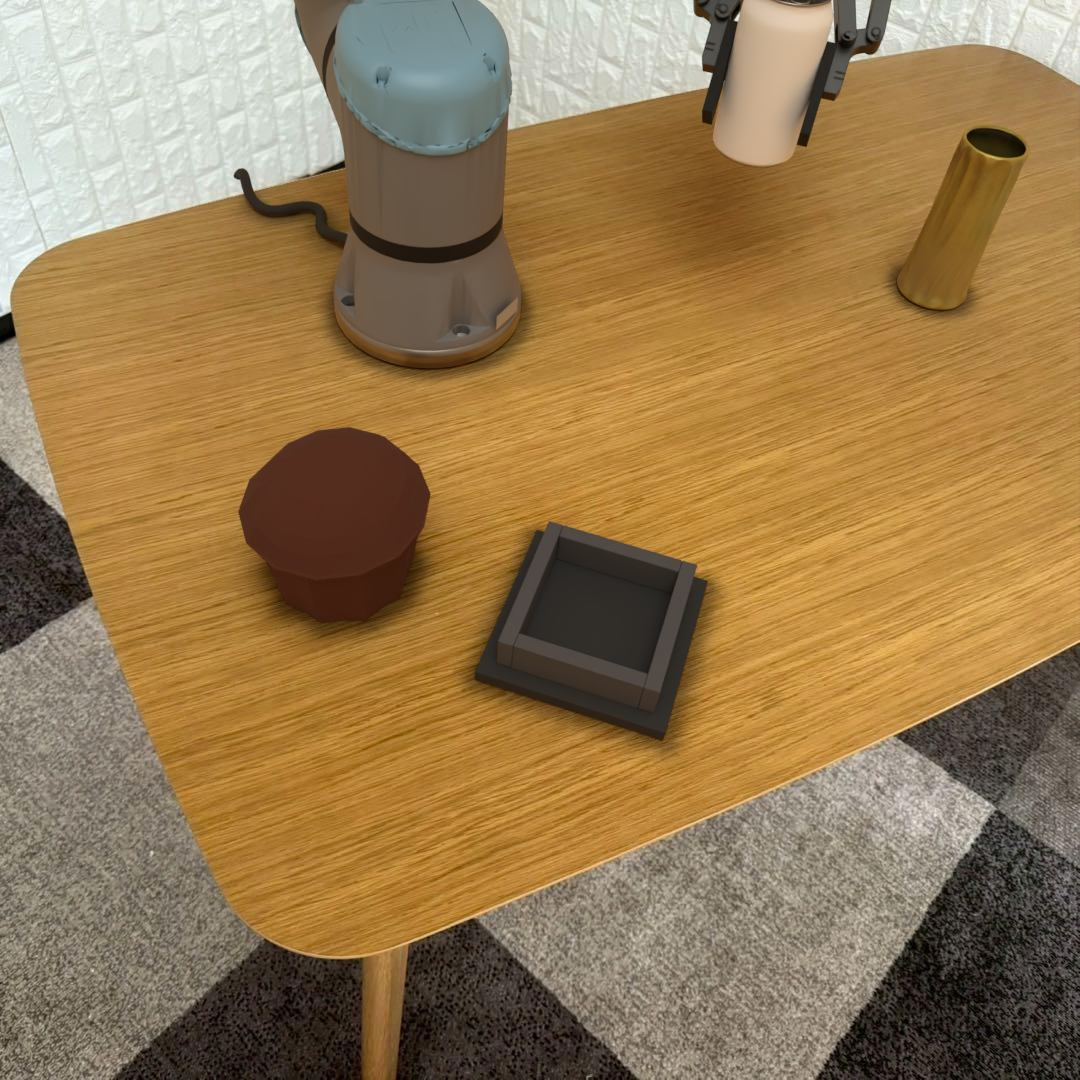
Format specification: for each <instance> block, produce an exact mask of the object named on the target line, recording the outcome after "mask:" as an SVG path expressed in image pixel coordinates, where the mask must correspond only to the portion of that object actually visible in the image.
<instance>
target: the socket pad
mask: <svg viewBox="0 0 1080 1080" xmlns="http://www.w3.org/2000/svg"><path fill="white" fill-rule="evenodd" d="M697 569H698V565H697V564H696V563H692V562H689V561H686V560H682V559H679V558H676V557H672V556H669V555H666V554H662V553H658V552H656V551H652V550H649V549H645V548H641V547H638V546H635V545H632V544H628V543H625V542H622V541H619V540H615V539H611V538H608V537H605V536H601V535H598V534H594V533H592V532H588V531H584V530H581V529H578V528H574V527H572V526H567V525H563V524H561V523H557V522H555V521H551V520H549V521H548V522H547V524H546V527H545V530H544V531H543V530H539V529H536V531H535V532H534V535H533V537H532V539H531V542H530V544H529V546H528V548H527V551H526V553H525V556H524V558H523V560H522V562H521V565H520V567H519V569H518V572H517V574H516V576H515V579H514V581H513V583H512V585H511V588H510V589H509V592H508V595H507V597H506V599H505V602H504V604H503V606H502V609H501V611H500V613H499V615H498V617H497V620H496V623H495V625H494V627H493V630H492V631H491V634H490V636H489V639H488V641H487V643H486V646H485V647H484V650H483V653H482V654H481V657H480V659H479V662H478V664H477V667H476V669H475V671H474V681H478V682H480V683H483V684H485V685H490V686H492V687H496V688H499V689H502V690H504V691H508V692H511V693H515V694H517V695H520V696H524V697H526V698H529V699H533V700H536V701H539V702H543V703H546V704H548V705H551V706H555V707H557V708H561V709H564V710H567V711H570V712H573V713H576V714H580V715H583V716H585V717H589V718H592V719H594V720H598V721H600V722H604V723H607V724H610V725H613V726H616V727H619V728H622V729H626V730H628V731H632V732H635V733H638V734H641V735H644V736H647V737H651V738H653V739H656V740H659V741H664V740H665V736H666V734H667V730H668V726H669V723H670V719H671V716H672V713H673V708H674V705H675V702H676V698H677V695H678V691H679V687H680V684H681V679H682V676H683V673H684V670H685V665H686V662H687V658H688V656H689V652H690V647H691V644H692V641H693V637H694V635H695V630H696V627H697V626H696V625H697V623H698V618H699V616H700V612H701V608H702V605H703V601H704V597H705V594H706V590H707V587H708V583H709V582H708V580H707V579H704V578H700V577H696V576H695V575H696V571H697Z"/></svg>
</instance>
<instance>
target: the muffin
mask: <svg viewBox="0 0 1080 1080" xmlns="http://www.w3.org/2000/svg"><path fill="white" fill-rule="evenodd" d="M431 495H432V494H431V492H430V488H429V487H428V484H427V482H426V479H425V477H424V475H423V472H422V469H421V466H420V465H419V464H418V463H417V462H416V461H414V460H413V459H412V457H410V456H409V455H408V454H407V453H406V452H405V451H403V450H402V449H401V448H399V447H398V446H397V445H396V444H394V442H392V441H391V440H390V439H388V438H387V437H385V435H382V434H378V433H375V432H371V431H367V430H363V429H358V428H355V427H351V426H348V427H337V428H328V429H327V428H326V429H316V430H314V431H313V432H311V433H308V434H305V435H303V436H301V437H299V438H297V439H294V440H292V441H290V442H288V443H286V444H285V445H284V446H283V447H282V448H281V449H280V450H278V452H277V453H275V454H274V455H273V456H272V457H271V458H270V459H269V460H268V461H266V463H265V464H264V465H262V467H260V469H259V470H258V471H257V472H256V473H254V474H253V475H252V476H251V478H249V479H248V482H247V486H246V488H245V491H244V494H243V497H242V499H241V501H240V502H241V503H240V505H239V508H238V511H237V513H238V516H239V521H240V524H241V528H242V532H243V536H244V539H245V543H246V545H247V546H248V547H249V548H251V549H252V550H253V551H254V552H255V553H256V554H257V555H258V556H259V557H260V558H262V560H264V562H265V563H266V565H267V567H268V570H269V571H270V573H271V576H272V578H273V579H274V581H275V584H276V586H277V588H278V590H279V592H280V594H281V596H282V598H283V600H284V602H285V604H286V605H288V606H290V607H291V608H293V609H297V610H299V611H302V612H304V613H306V614H307V615H309V616H310V617H312V618H313V619H314V620H316V621H318V622H319V623H320V624H327V623H333V622H342V621H357V622H358V621H360V622H364V621H365V622H366V621H367V620H369V619H370V618H371V617H372V616H374V615H375V614H376V613H378V612H379V611H380V610H381V609H383V608H385V607H387V606H388V605H390V604H392V603H394V602H396V601H397V600H399V599H401V597H402V594H403V593H402V592H403V589H404V584H405V581H406V579H407V576H408V574H409V573H410V570H411V568H412V566H413V562H414V557H415V553H416V547H417V542H418V538H419V535H420V534H421V533H422V532H423V529H424V527H425V525H426V519H427V515H428V509H429V504H430V501H431Z"/></svg>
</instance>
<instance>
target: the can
mask: <svg viewBox="0 0 1080 1080" xmlns="http://www.w3.org/2000/svg"><path fill="white" fill-rule="evenodd" d="M737 21H738V24H737V28H736V33H735V37H734V41H733V46H732V50H731V55H730V59H729V64H728V68H727V72H726V77H725V81H724V84H723V88H722V91H721V95H720V98H719V103H718V109H717V113H716V118H715V122H714V123H715V124H714V128H713V132H712V141H713V145H714V146H715V148H716V149H717V151H718V152H719V153H720V154H721V155H722V156H723V157H724V158H726V159H727V160H729V161H730V162H733V163H734V164H737V165H741V166H744V167H748V168H755V169H770V168H773V167H778V166H780V165H782V164H784V163H785V162H787V161H789V160H790V159H791V158H792V157H793V155H794V153H795V150H796V147H797V146H798V145H797V141H798V138H799V134H800V131H801V128H802V124H803V121H804V117H805V114H806V111H807V107H808V104H809V101H810V97H811V94H812V91H813V87H814V84H815V80H816V77H817V74H818V70H819V67H820V64H821V60H822V57H823V53H824V50H825V47H826V43H827V41H829V37H830V33H831V29H832V26H833V23H834V11H833V1H832V0H744V1H743V4H742V7H741V11H740V12H739V14H738V20H737Z"/></svg>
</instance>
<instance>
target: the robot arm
mask: <svg viewBox="0 0 1080 1080" xmlns="http://www.w3.org/2000/svg"><path fill="white" fill-rule="evenodd" d="M743 1H744V0H692V3H693V4H692V5H693V6H692V7H693V13H694V15H695V16H696V17H697V18H702V19H704V20H706V21H707V22H708V23H709V25H710V26H709V30H708V33H707V37H706V41H705V44H704V48H703V51H702V55H701V67H702V69H701V70H702V72H704V73H709V74H711V78H710V82H709V84H708V89H707V91H706V95H705V98H704V102H703V105H702V109H701V123H702V124H705V125H710V126H712V125H713V123H714V119H715V115H716V112H717V110H718V109H717V108H718V106H719V103H720V99H721V95H722V90H723V86H724V81H725V77H726V72H727V68H728V64H729V59H730V55H731V50H732V46H733V41H734V37H735V33H736V28H737V24H738V20H736V18H738V16H739V15H740V11H741V7H742V4H743ZM293 4H294V10H293V11H294V17H295V22H296V25H297V28H298V32H299V34H300V37H301V39H302V42H303V44H304V47H305V48H306V50H307V52H308V54H310V57H311V59H312V61H313V64H314V67H315V69H316V72H317V74H318V76H319V79H320V81H321V85H322V87H323V89H324V93H325V95H326V98H327V99H328V103H329V105H330V108H331V110H332V113H333V115H334V118H335V121H336V124H337V127H338V129H339V134H340V138H341V143H342V148H343V154H344V155H343V156H344V157H343V158H344V169H345V179H346V191H347V203H348V213H349V214H348V215H349V230H348V232H347V233H346V232H342V231H339V230H335V229H332V228H330V227H329V226H327V211H326V210H325V208H324V207H323V206H322V205H321V203H318V202H315V201H310V200H301V201H300V200H299V201H294V202H293V201H292V202H288V203H284V204H275V205H274V204H268V203H265V202H263V201H262V200H261V199H259V197H257V194H256V193H255V190H254V188H253V183H252V180H251V175H250V174H249V171H248V170H247V169H246V168H244V167H242V168H240V167H239V168H238V169H237V170H235V171H234V174H233V178H234V179H235V180H237V181H239V182H240V187H241V190H242V193H243V195H244V197H245V199H246V200H247V202H248V204H249V205H250V206H251V208H253V209H254V210H255V211H256V212H258V213H260V214H262V215H266V216H272V217H278V216H287V215H290V214H297V213H302V212H308V213H314V215H315V222H314V226H315V229H316V231H317V233H318V234H319V235H321V237H323V238H325V239H327V240H330V241H333V242H337V243H339V244H343V245H344V246H343V251H342V252H341V253H342V254H341V257H340V260H339V264H338V268H337V271H336V274H335V277H334V282H333V287H332V297H333V305H334V314H335V319H336V322H337V325H338V326H339V328H340V330H341V332H342V333H343V334H344V336H345V337H346V338H347V339H348V341H350V342H351V343H352V344H353V345H354V346H355V347H357V348H358V349H360V350H361V351H362V352H365V353H366V354H368V355H370V356H372V357H374V358H376V359H379V360H381V361H383V362H387V363H390V364H393V365H399V366H403V367H408V368H417V369H443V368H450V367H457V366H460V365H465V364H468V363H469V364H470V363H472V362H475V361H477V360H480V359H482V358H484V357H487V356H489V355H490V354H493V352H495V351H497V350H498V349H500V348H501V347H503V345H505V343H506V342H508V340H509V339H510V338H511V337H512V336H513V334H514V333H515V331H516V329H517V327H518V325H519V322H520V318H521V308H522V286H521V282H520V279H519V276H518V272H517V269H516V266H515V263H514V260H513V257H512V254H511V251H510V248H509V244H508V241H507V238H506V235H505V232H504V228H503V224H504V223H503V222H504V204H505V184H506V167H507V148H508V133H509V132H508V130H509V129H508V128H509V110H510V104H511V100H512V99H511V96H512V94H513V81H512V77H513V72H512V68H511V62H510V61H511V60H510V59H511V58H510V46H509V41H508V38H507V35H506V32H505V30H504V28H503V26H502V24H501V22H500V20H499V19H498V18H497V17H496V15H495V14H494V13H493V12H492V10H491V9H489V8H488V6H487V5H485V4H484V3H483V2H481V1H480V0H293ZM869 5H870V6H869V10H868V14H867V20H866V24H865V27H863V28H857V27H858V26H857V2H856V0H832V9H833V33H834V34H833V35H834V41H829V40H827V43H826V47H825V50H824V53H823V57H822V60H821V64H820V67H819V70H818V74H817V77H816V80H815V84H814V87H813V91H812V94H811V97H810V101H809V104H808V107H807V111H806V114H805V117H804V121H803V124H802V128H801V131H800V134H799V138H798V141H797V145H796V146H800V147H804V148H807V146H808V144H809V140H810V137H811V135H812V134H811V133H812V131H813V129H814V128H813V127H814V124H815V120H816V118H817V114H818V111H819V107H820V103H821V100H822V99H823V100H826V101H831V102H835V101H836V99H837V98H838V97H839V96H840V93H841V90H842V87H843V84H844V80H845V77H846V73H847V71H848V67H849V64H850V61H851V59H852V58H853V57H855V56H856V55H862V54H865V55H868V56H872V55H875V54H876V53H877V52H878V50H879V48H880V46H881V44H882V42H883V40H884V36H885V35H886V30H887V24H888V20H889V14H890V10H891V6H892V0H870V4H869Z"/></svg>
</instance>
